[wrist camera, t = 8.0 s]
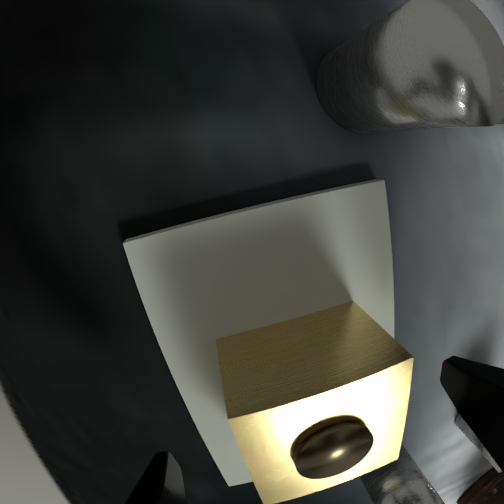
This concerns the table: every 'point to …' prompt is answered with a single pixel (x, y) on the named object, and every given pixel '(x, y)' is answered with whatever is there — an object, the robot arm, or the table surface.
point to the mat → (258, 285)
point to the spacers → (416, 126)
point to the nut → (315, 399)
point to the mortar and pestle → (486, 490)
